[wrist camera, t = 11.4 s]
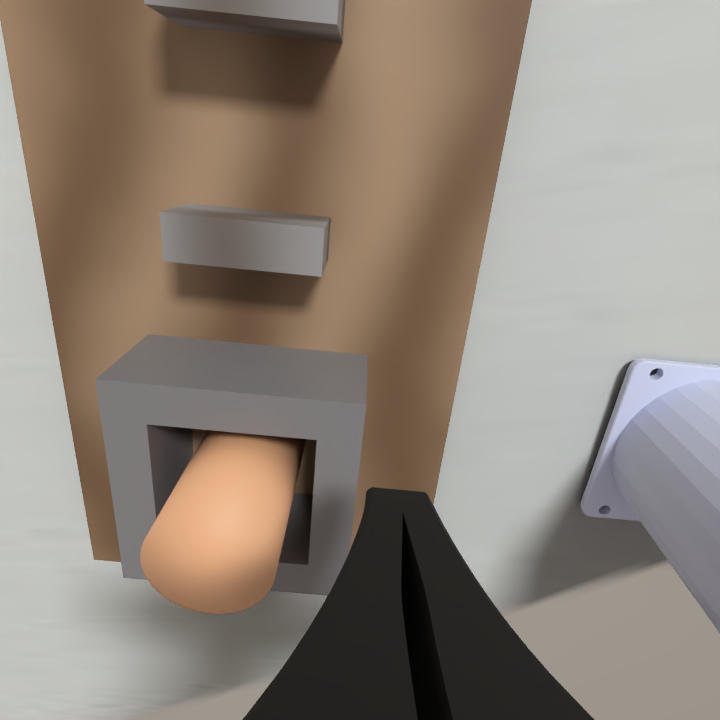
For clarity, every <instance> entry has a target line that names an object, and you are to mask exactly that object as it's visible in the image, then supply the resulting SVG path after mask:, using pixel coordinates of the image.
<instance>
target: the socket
mask: <svg viewBox="0 0 720 720" xmlns="http://www.w3.org/2000/svg"><path fill="white" fill-rule="evenodd" d="M367 357H368V355H362V354H352V353H341V352H331V351H320V350H310V349H299V348H289V347H278V346H268V345H257V344H247V343H236V342H226V341H215V340H205V339H194V338H184V337H173V336H163V335H152V334H148V335H147V336H146V337H145V338H143V339H142V340H141V341H140V342H139V343H137V344H136V345H135V346H134V347H133V348H132V349H130V350H129V351H128V352H127V353H126V354H124V355H123V356H122V357H121V358H120V359H119V360H117V361H116V362H115V363H114V364H113V365H111V366H110V367H109V368H108V369H107V370H106V371H104V372H103V373H102V374H101V375H100V376H98V377H97V378H96V379H95V382H96V389H97V396H98V403H99V410H100V417H101V424H102V431H103V438H104V445H105V452H106V459H107V466H108V473H109V480H110V487H111V494H112V501H113V508H114V515H115V522H116V529H117V536H118V543H119V550H120V557H121V564H122V570H123V577H124V578H133V579H145V580H148V579H147V578H146V576H145V574H144V572H143V569H142V566H141V561H140V552H141V547H142V544H143V541H144V539H145V538H146V536H147V534H148V533H149V531H150V529H151V527H152V526H153V524H154V522H155V520H156V519H157V517H158V515H159V514H160V512H161V510H162V508H163V507H164V505H165V503H166V501H167V500H168V498H169V496H170V494H171V493H172V491H173V489H174V488H175V486H176V484H177V482H178V481H179V479H180V477H181V475H182V474H183V472H184V470H185V469H186V467H187V465H188V463H189V462H190V460H191V458H192V456H193V437H192V429H202V430H213V431H224V432H235V433H245V434H256V435H267V436H278V437H289V438H300V439H310V440H317V444H316V458H315V473H314V488H313V495H311V494H300V493H294V496H293V500H292V505H291V509H290V514H289V518H288V523H287V527H286V531H285V536H284V540H283V545H282V549H281V554H280V558H279V563H278V567H277V572H276V576H275V580H274V583H273V586H272V588H271V591H283V592H294V593H306V594H317V595H329V593H330V591H331V589H332V587H333V585H334V583H335V581H336V579H337V577H338V575H339V573H340V571H341V569H342V567H343V565H344V563H345V561H346V558H347V556H348V554H349V551H350V545H351V536H352V528H353V519H354V510H355V501H356V492H357V483H358V474H359V466H360V457H361V448H362V439H363V430H364V421H365V413H366V400H367Z"/></svg>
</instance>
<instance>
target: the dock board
mask: <svg viewBox="0 0 720 720" xmlns="http://www.w3.org/2000/svg"><path fill="white" fill-rule="evenodd" d="M531 3H532V0H0V21H1V26H2V32H3V38H4V44H5V49H6V55H7V61H8V67H9V72H10V78H11V84H12V90H13V95H14V101H15V107H16V113H17V119H18V124H19V130H20V136H21V142H22V147H23V153H24V159H25V165H26V170H27V176H28V182H29V188H30V193H31V199H32V205H33V211H34V216H35V222H36V228H37V234H38V239H39V245H40V251H41V257H42V263H43V268H44V274H45V280H46V286H47V291H48V297H49V303H50V309H51V314H52V320H53V326H54V332H55V337H56V343H57V349H58V355H59V360H60V366H61V372H62V378H63V383H64V389H65V395H66V401H67V406H68V412H69V418H70V424H71V430H72V435H73V441H74V447H75V453H76V458H77V464H78V470H79V476H80V481H81V487H82V493H83V499H84V504H85V510H86V516H87V522H88V527H89V533H90V539H91V545H92V550H93V556H94V560H105V561H117V562H121V557H120V550H119V543H118V536H117V529H116V522H115V515H114V508H113V501H112V494H111V487H110V480H109V473H108V466H107V459H106V452H105V445H104V438H103V431H102V424H101V417H100V410H99V403H98V396H97V389H96V382H95V379H96V378H97V377H98V376H100V375H101V374H102V373H103V372H104V371H106V370H107V369H108V368H109V367H110V366H111V365H113V364H114V363H115V362H116V361H117V360H119V359H120V358H121V357H122V356H123V355H124V354H126V353H127V352H128V351H129V350H130V349H132V348H133V347H134V346H135V345H136V344H137V343H139V342H140V341H141V340H142V339H143V338H145V337H146V336H147V335H148V334H152V335H163V336H173V337H184V338H194V339H205V340H215V341H226V342H236V343H247V344H257V345H268V346H278V347H289V348H299V349H310V350H320V351H331V352H341V353H352V354H362V355H368V357H367V400H366V413H365V421H364V430H363V439H362V448H361V457H360V466H359V474H358V483H357V492H356V501H355V510H354V519H353V528H352V536H351V545H350V549H351V546H352V544H353V541H354V539H355V536H356V534H357V531H358V528H359V525H360V522H361V519H362V516H363V512H364V506H365V498H366V491H367V490H368V489H370V488H371V487H376V488H387V489H398V490H409V491H420V492H426V493H427V495H428V496H429V497H430V499H431V502H432V504H433V503H434V498H435V493H436V488H437V483H438V477H439V472H440V467H441V462H442V457H443V452H444V447H445V442H446V437H447V432H448V426H449V421H450V416H451V411H452V406H453V401H454V396H455V391H456V386H457V380H458V375H459V370H460V365H461V360H462V355H463V350H464V345H465V340H466V335H467V329H468V324H469V319H470V314H471V309H472V304H473V299H474V294H475V289H476V283H477V278H478V273H479V268H480V263H481V258H482V253H483V248H484V243H485V238H486V232H487V227H488V222H489V217H490V212H491V207H492V202H493V197H494V192H495V186H496V181H497V176H498V171H499V166H500V161H501V156H502V151H503V146H504V141H505V135H506V130H507V125H508V120H509V115H510V110H511V105H512V100H513V95H514V89H515V84H516V79H517V74H518V69H519V64H520V59H521V54H522V49H523V44H524V38H525V33H526V28H527V23H528V18H529V13H530V8H531ZM206 432H207V430H202V429H192V437H193V455H194V453H195V451H196V449H197V448H198V446H199V444H200V443H201V441H202V439H203V437H204V436H205V434H206ZM316 444H317V440H310V439H305V447H304V451H303V456H302V460H301V465H300V469H299V474H298V478H297V482H296V487H295V491H294V493H300V494H311V495H313V488H314V473H315V458H316Z"/></svg>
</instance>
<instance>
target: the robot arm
mask: <svg viewBox="0 0 720 720" xmlns="http://www.w3.org/2000/svg"><path fill="white" fill-rule="evenodd" d="M656 368H658V371H657V372H656V374H654V375H651V376H650V373H651V371H652V370H654V369H656ZM602 506H606V507H604V508H601V507H602ZM580 507H581V509H582V511H583V513H584V514H585V515H587V516H590V517H599V518H610V519H621V520H632V521H640V522H641V523H642V525H643V526H644V528H645V529H646V530H647V532H648V533H649V535H650V536H651V537H652V539H653V540H654V542H655V543H656V544H657V546H658V547H659V549H660V550H661V551H662V553H663V554H664V556H665V557H666V558H667V560H668V561H669V563H670V564H671V565H672V567H673V568H674V570H675V571H676V572H677V574H678V575H679V577H680V578H681V579H682V581H683V582H684V584H685V585H686V586H687V588H688V589H689V591H690V592H691V594H692V595H693V596H694V597H695V599H696V600H697V602H698V603H699V605H700V606H701V608H702V609H703V610H704V612H705V613H706V615H707V616H708V617H709V619H710V620H711V621H712V623H713V624H714V626H715V627H716V629H717V630H718V631H719V633H720V365H710V364H700V363H689V362H679V361H668V360H658V359H648V358H640V359H637V360H635V361H633V362H632V363H631V364H630V365H629V367H628V369H627V372H626V375H625V378H624V381H623V384H622V386H621V389H620V392H619V395H618V398H617V401H616V404H615V406H614V409H613V412H612V415H611V418H610V421H609V423H608V426H607V429H606V432H605V435H604V438H603V441H602V443H601V446H600V449H599V452H598V455H597V458H596V460H595V463H594V466H593V469H592V472H591V475H590V478H589V480H588V483H587V486H586V489H585V492H584V495H583V497H582V500H581V503H580ZM600 508H601V509H600ZM243 720H594V719H593V718H592V717H591V716H590V715H589V714H588V713H587V712H586V711H585V710H584V709H583V708H582V706H580V704H579V703H578V702H577V701H576V700H575V699H574V698H573V697H572V696H571V695H570V694H569V693H568V692H567V691H566V690H565V689H564V688H563V687H562V686H561V684H559V682H557V680H555V678H554V677H553V676H552V675H551V674H550V673H549V672H548V671H547V670H546V668H545V667H544V666H543V665H542V664H541V663H540V661H539V660H538V659H537V658H536V657H535V656H534V655H533V653H532V652H531V651H530V650H529V649H528V648H527V646H526V645H525V644H524V643H523V641H522V640H521V639H520V638H519V636H518V635H517V634H516V633H515V631H514V630H513V629H512V628H511V627H510V625H509V624H508V623H507V621H506V620H505V619H504V617H503V616H502V615H501V613H500V612H499V611H498V609H497V608H496V607H495V605H494V604H493V602H492V601H491V600H490V598H489V597H488V595H487V594H486V593H485V591H484V590H483V588H482V587H481V585H480V584H479V582H478V581H477V579H476V578H475V576H474V575H473V573H472V572H471V570H470V569H469V567H468V565H467V564H466V562H465V561H464V559H463V557H462V556H461V554H460V553H459V551H458V549H457V548H456V546H455V544H454V543H453V541H452V539H451V537H450V536H449V534H448V532H447V530H446V529H445V527H444V525H443V523H442V521H441V519H440V517H439V516H438V514H437V512H436V510H435V508H434V506H433V504H432V502H431V499H430V497H429V496H428V495H427V493H426V492H420V491H409V490H398V489H387V488H376V487H371V488H370V489H368V490H367V491H366V498H365V506H364V512H363V516H362V519H361V522H360V525H359V528H358V531H357V534H356V536H355V539H354V541H353V544H352V546H351V549H350V551H349V554H348V556H347V558H346V561H345V563H344V565H343V567H342V569H341V571H340V573H339V575H338V577H337V579H336V581H335V583H334V585H333V587H332V589H331V591H330V593H329V595H328V596H327V598H326V600H325V602H324V604H323V605H322V607H321V609H320V611H319V612H318V614H317V616H316V617H315V619H314V621H313V622H312V624H311V626H310V627H309V629H308V630H307V632H306V633H305V635H304V636H303V638H302V639H301V641H300V643H299V644H298V646H297V647H296V649H295V650H294V652H293V653H292V655H291V656H290V658H289V659H288V660H287V662H286V663H285V665H284V666H283V668H282V669H281V670H280V672H279V673H278V674H277V676H276V677H275V678H274V680H273V681H272V682H271V684H270V685H269V686H268V688H267V689H266V690H265V691H264V693H263V694H262V695H261V697H260V698H259V699H258V701H257V702H256V704H255V705H254V706H253V707H252V708H251V710H250V711H249V712H248V714H247V715H246V716H245V717H244V718H243Z"/></svg>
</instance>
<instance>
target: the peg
mask: <svg viewBox="0 0 720 720" xmlns="http://www.w3.org/2000/svg"><path fill="white" fill-rule="evenodd" d="M304 447H305V439H300V438H289V437H278V436H267V435H256V434H245V433H235V432H224V431H213V430H207V432H206V434H205V436H204V437H203V439H202V441H201V443H200V444H199V446H198V448H197V449H196V451H195V453H194V455H193V456H192V458H191V460H190V462H189V463H188V465H187V467H186V469H185V470H184V472H183V474H182V475H181V477H180V479H179V481H178V482H177V484H176V486H175V488H174V489H173V491H172V493H171V494H170V496H169V498H168V500H167V501H166V503H165V505H164V507H163V508H162V510H161V512H160V514H159V515H158V517H157V519H156V520H155V522H154V524H153V526H152V527H151V529H150V531H149V533H148V534H147V536H146V538H145V539H144V541H143V544H142V547H141V552H140V561H141V566H142V569H143V572H144V574H145V576H146V578H147V579H148V581H149V582H150V584H151V585H152V586H153V587H154V588H155V589H156V590H157V591H158V592H159V593H160V594H161V595H163V596H164V597H165V598H167V599H168V600H170V601H171V602H173V603H175V604H177V605H179V606H182V607H184V608H187V609H190V610H193V611H197V612H201V613H209V614H228V613H234V612H238V611H242V610H245V609H247V608H250V607H252V606H254V605H255V604H257V603H258V602H260V601H261V600H262V599H263V598H264V597H265V596H266V595H267V594H268V593H269V591H270V590H271V588H272V586H273V583H274V580H275V576H276V572H277V567H278V563H279V558H280V554H281V549H282V545H283V540H284V536H285V531H286V527H287V523H288V518H289V514H290V509H291V505H292V500H293V496H294V491H295V487H296V482H297V478H298V474H299V469H300V465H301V460H302V456H303V451H304Z"/></svg>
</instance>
